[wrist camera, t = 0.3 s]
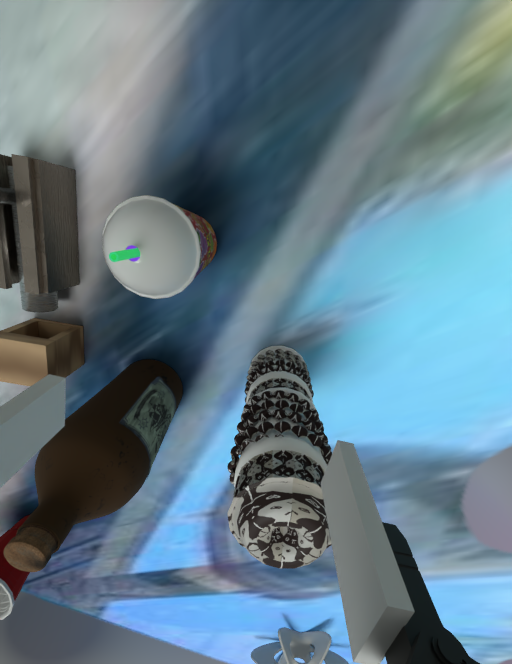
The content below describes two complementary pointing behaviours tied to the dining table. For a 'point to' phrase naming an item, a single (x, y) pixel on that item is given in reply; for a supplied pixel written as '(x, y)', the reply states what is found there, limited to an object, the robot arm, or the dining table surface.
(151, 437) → the olive oil
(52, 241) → the outer sleeve
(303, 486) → the decorative candle
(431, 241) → the dining table surface
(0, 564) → the plastic cup
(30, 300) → the ball knob lever
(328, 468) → the robot arm
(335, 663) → the sculpture
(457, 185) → the dining table surface
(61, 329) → the socket block
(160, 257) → the smoothie
